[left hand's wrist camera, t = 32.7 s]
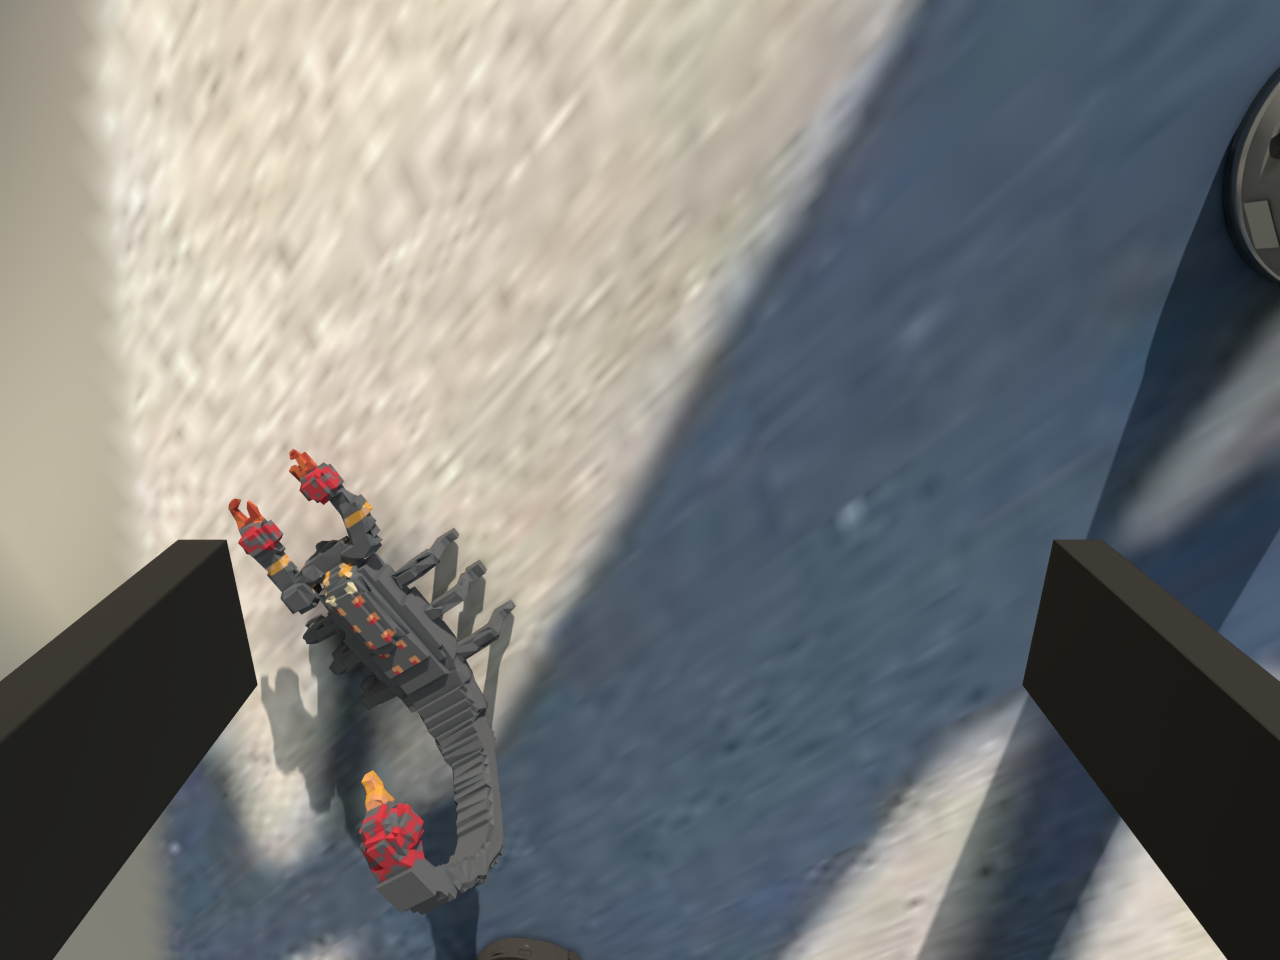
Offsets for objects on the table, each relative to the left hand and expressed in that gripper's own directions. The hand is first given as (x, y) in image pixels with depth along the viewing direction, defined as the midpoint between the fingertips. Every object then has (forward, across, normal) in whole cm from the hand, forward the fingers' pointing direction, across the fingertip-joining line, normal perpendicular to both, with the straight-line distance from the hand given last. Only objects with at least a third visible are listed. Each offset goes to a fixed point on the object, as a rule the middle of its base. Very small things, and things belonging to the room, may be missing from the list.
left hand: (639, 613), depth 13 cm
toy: (+38, -17, -21) cm, 47 cm away
